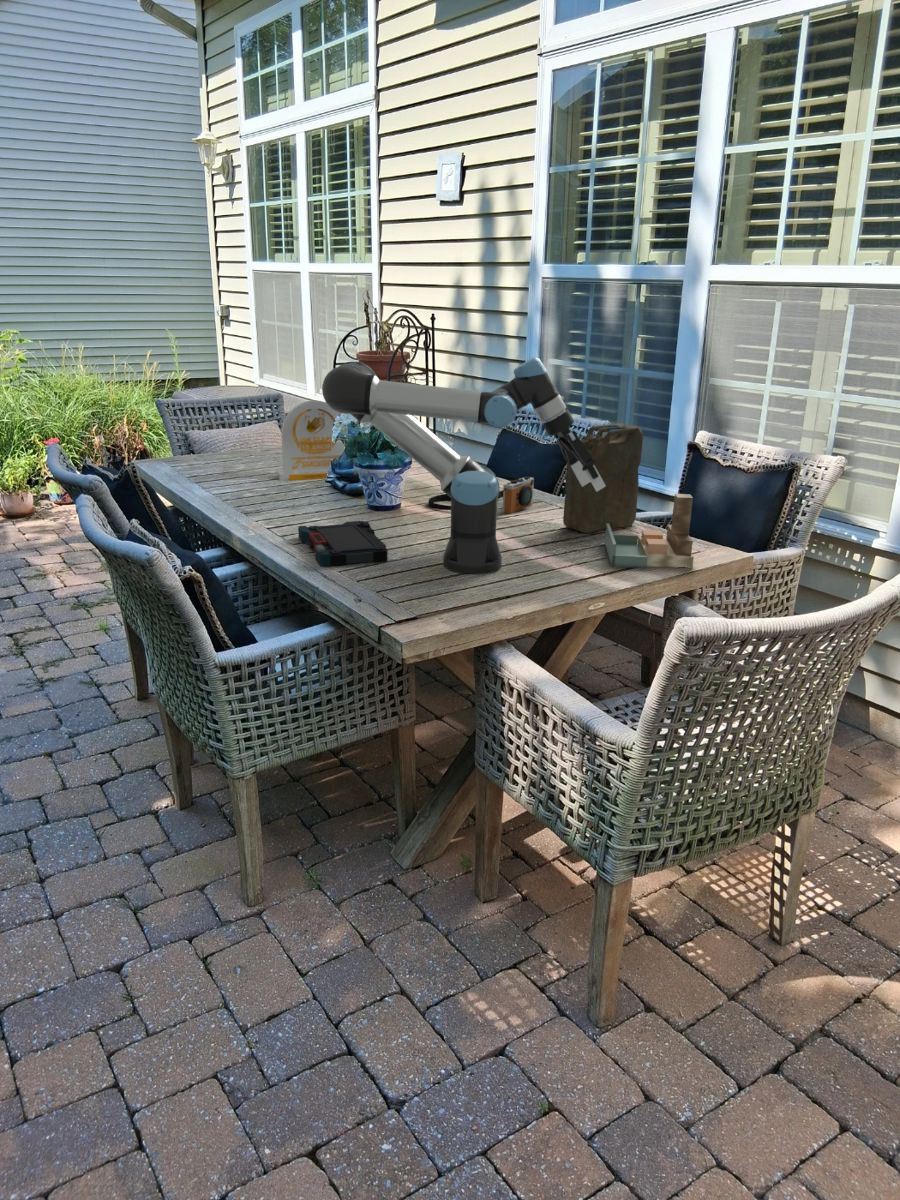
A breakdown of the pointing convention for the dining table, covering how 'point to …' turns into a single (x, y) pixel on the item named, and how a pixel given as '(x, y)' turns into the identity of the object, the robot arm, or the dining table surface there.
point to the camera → (502, 495)
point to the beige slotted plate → (665, 557)
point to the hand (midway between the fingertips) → (593, 486)
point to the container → (606, 480)
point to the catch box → (623, 550)
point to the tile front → (656, 546)
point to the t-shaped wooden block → (681, 525)
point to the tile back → (651, 535)
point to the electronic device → (343, 543)
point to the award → (308, 441)
